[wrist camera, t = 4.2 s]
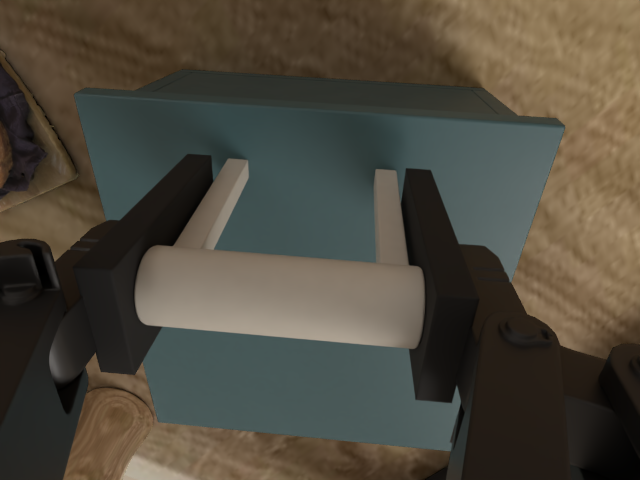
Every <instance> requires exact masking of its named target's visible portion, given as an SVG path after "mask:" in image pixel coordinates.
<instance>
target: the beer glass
mask: <svg viewBox="0 0 640 480" xmlns="http://www.w3.org/2000/svg"><path fill="white" fill-rule="evenodd" d="M152 427H153V416H152V413H151V411H150V409H149V408H148V407H147V405H146V404H145V403H144V402H143V401H142V400H140V399H139V398H138V397H136V396H134V395H133V394H131V393H128V392H126V391H123V390H120V389H115V388H98V389H94V390H92V391H90V392H88V393H87V394H86V395H85V399H84V403H83V406H82V410H81V414H80V418H79V421H78V425H77V429H76V433H75V437H74V440H73V444H72V448H71V452H70V455H69V459H68V463H67V467H66V470H65V474H64V478H63V480H123V477H124V474H125V472H126V469H127V467H128V465H129V463H130V461H131V459H132V457H133V456H134V454H135V452H136V451H137V449H138V448H139V447H140V445H141V444H142V443H143V441H144V440H145V439H146V437H147V436H148V434H149V433H150V431H151V429H152Z"/></svg>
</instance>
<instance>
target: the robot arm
mask: <svg viewBox="0 0 640 480" xmlns="http://www.w3.org/2000/svg"><path fill="white" fill-rule="evenodd" d="M212 183H213V171H212V158H211V155H200V154H187V155H186V156H185V157H184V158H183V159H182V160H181V161H180V162H179V163H178V164H176V165H175V166H174V167H173V168H172V169H171V170H170V171H169V172H168V173H167V174H166V175H165V176H164V177H163V178H162V179H161V180H160V181H159V182H158V183H157V184H156V185H155V186H154V187H153V188H152V189H151V190H150V191H149V192H148V193H147V194H146V195H145V196H144V197H143V198H142V199H141V200H140V201H139V202H138V203H137V204H136V205H135V206H134V207H133V208H132V209H131V210H130V211H129V212H128V213H127V214H126V215H125V216H124V217H123V218H122V219H121V220H108V221H106V222H104V223H101V224H99V225H97V226H95V227H93V228H91V229H90V230H89V231H88V232H87V233H86V234H85V235H84V236H83V237H82V238H80V241H77V242H76V243H75V244H74V245H73V246H72V247H71V249H70V250H67V251H66V252H65V253H64V254H63V255H62V256H61V257H60V258H58V259H57V260H56V261H55V262H54V259H53V255H52V252H51V248H50V246H49V245H48V244H47V243H46V242H44V241H40V240H37V239H17V240H10V241H5V242H1V243H0V480H63V478H64V474H65V470H66V467H67V463H68V459H69V455H70V452H71V448H72V444H73V440H74V437H75V433H76V429H77V425H78V421H79V418H80V414H81V410H82V406H83V403H84V399H85V395H86V391H87V388H88V375H87V371H86V368H85V366H86V365H87V363H88V362H89V361H90V359H91V358H92V356H93V355H94V354H95V352H96V356H97V359H98V363H99V367H100V370H101V372H108V373H119V374H131V375H135V374H136V372H137V370H138V369H139V367H140V365H141V363H142V362H143V360H144V358H145V356H146V355H147V353H148V351H149V349H150V348H151V346H152V344H153V343H154V341H155V339H156V337H157V336H158V334H159V332H160V330H161V329H162V327H163V326H152V325H146V324H144V323H142V322H141V321H140V320H139V318H138V316H137V313H136V309H135V302H134V289H135V281H136V275H137V271H138V268H139V265H140V262H141V260H142V258H143V256H144V255H145V253H146V252H147V250H148V249H149V248H151V247H153V246H156V245H162V246H174V244H175V242H176V241H177V239H178V238H179V236H180V234H181V233H182V231H183V230H184V228H185V226H186V225H187V223H188V222H189V220H190V219H191V217H192V215H193V214H194V212H195V211H196V209H197V207H198V206H199V204H200V203H201V201H202V199H203V198H204V196H205V195H206V193H207V191H208V190H209V188H210V187H211V185H212ZM401 209H402V216H403V223H404V231H405V238H406V245H407V253H408V260H409V266H418V267H420V268H421V269H422V271H423V274H424V279H425V289H426V306H425V319H424V327H423V332H422V337H421V340H420V343H419V345H418V347H417V348H415V349H409V354H410V362H411V370H412V377H413V385H414V392H415V400H420V401H432V402H443V403H452V401H453V397H454V393H455V389H456V386H457V387H458V391H459V396H460V400H461V404H460V407H459V411H458V414H457V418H456V421H455V425H454V429H453V432H452V436H451V439H450V443H452V447H451V453H450V459H449V465H448V470H447V476H446V480H640V345H639V344H621V345H618V346H616V347H613V348H612V350H611V352H610V354H609V357H608V359H607V360H605V359H601V358H598V357H594V356H591V355H587V354H584V353H581V352H577V351H574V350H571V349H568V348H566V347H563V346H561V345H560V343H559V341H558V338H557V336H556V334H555V332H554V331H553V330H552V329H551V328H550V327H549V326H548V325H547V324H545V323H543V322H542V321H540V320H538V319H537V318H535V317H533V316H530V315H527V313H526V311H525V309H524V307H523V305H522V303H521V301H520V299H519V297H518V295H517V293H516V291H515V289H514V287H513V285H512V283H511V282H510V279H509V277H508V275H507V273H506V272H504V270H505V269H504V267H503V265H502V263H501V261H500V259H499V257H498V256H496V255H495V254H494V253H493V252H492V251H490V250H489V249H488V248H487V247H486V246H481V245H467V244H459V243H458V240H457V238H456V235H455V232H454V230H453V227H452V224H451V222H450V219H449V217H448V214H447V211H446V209H445V206H444V203H443V201H442V198H441V195H440V193H439V190H438V187H437V185H436V182H435V180H434V177H433V174H432V172H431V170H427V169H412V168H406V171H405V178H404V185H403V192H402V199H401Z"/></svg>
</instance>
